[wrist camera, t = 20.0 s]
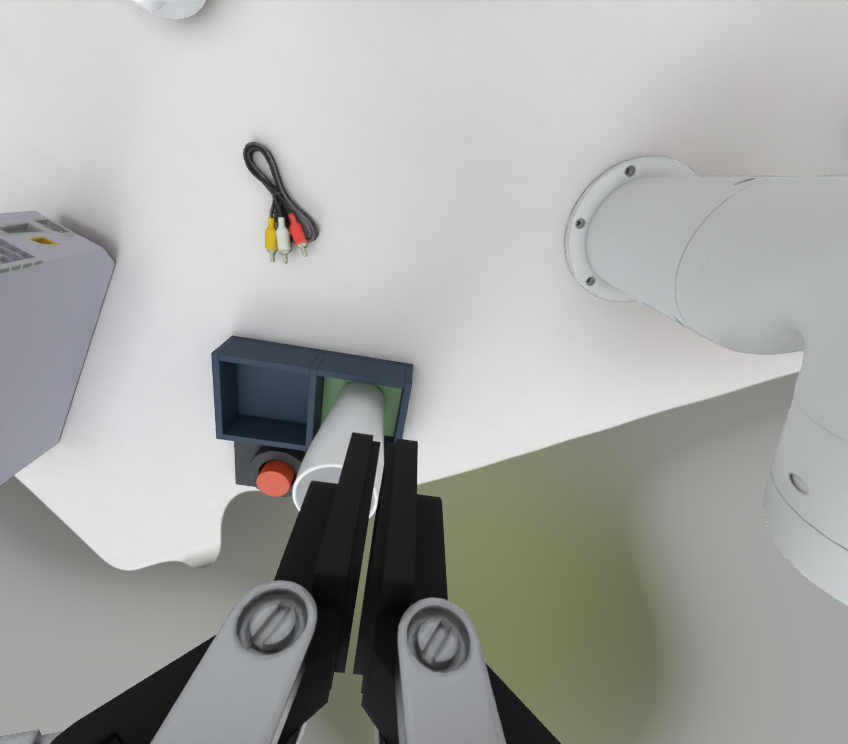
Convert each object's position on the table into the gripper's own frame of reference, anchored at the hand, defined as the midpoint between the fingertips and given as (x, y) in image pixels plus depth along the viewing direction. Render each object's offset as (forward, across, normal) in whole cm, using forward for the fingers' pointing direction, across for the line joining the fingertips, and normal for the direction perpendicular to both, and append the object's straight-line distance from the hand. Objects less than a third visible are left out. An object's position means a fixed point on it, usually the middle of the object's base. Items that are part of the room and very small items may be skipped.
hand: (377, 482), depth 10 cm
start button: (+28, +11, +25) cm, 39 cm away
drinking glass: (+30, +3, +16) cm, 34 cm away
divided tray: (+31, +8, +16) cm, 36 cm away
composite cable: (+31, +12, -3) cm, 34 cm away
